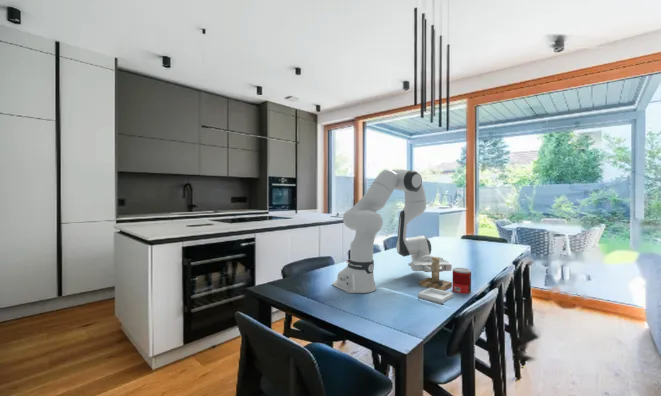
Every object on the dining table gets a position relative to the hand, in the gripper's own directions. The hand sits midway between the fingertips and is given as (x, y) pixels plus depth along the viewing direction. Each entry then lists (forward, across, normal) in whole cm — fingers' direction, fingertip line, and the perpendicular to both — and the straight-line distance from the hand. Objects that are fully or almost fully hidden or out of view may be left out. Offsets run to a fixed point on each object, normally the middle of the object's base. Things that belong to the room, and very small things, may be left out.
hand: (436, 270), depth 147 cm
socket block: (-1, 0, +9) cm, 9 cm away
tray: (+14, -5, +9) cm, 17 cm away
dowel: (-1, 0, +8) cm, 8 cm away
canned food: (+6, +10, +9) cm, 15 cm away
